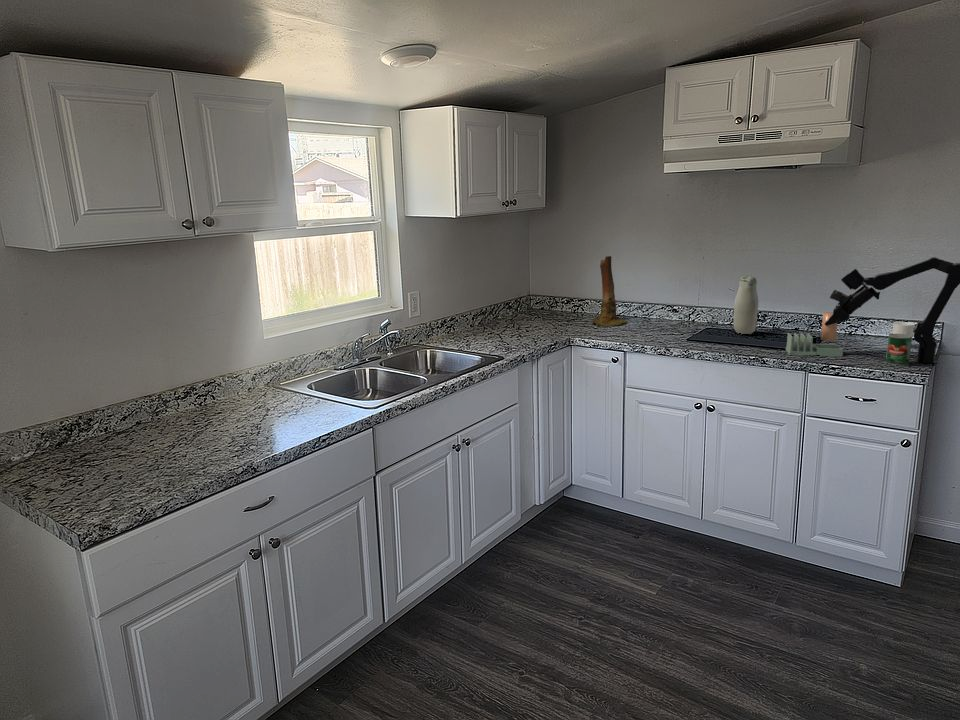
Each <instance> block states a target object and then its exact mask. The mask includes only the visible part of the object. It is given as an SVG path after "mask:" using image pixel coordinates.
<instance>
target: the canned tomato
mask: <svg viewBox="0 0 960 720" xmlns="http://www.w3.org/2000/svg"><path fill="white" fill-rule="evenodd" d="M887 338H888V339H887V344H886V346H887V347H886V355H885V362H886V364H887V363H888V364H887V365H890V364H891V366H896V365H900V366H899V367H905V366H904V365H907V366H909V365H910V359H911V357H910V356H911V348H912V341H913V338H912V336H910V335H906V334H893V333H890V334H888V337H887ZM901 365H902V366H901Z"/></svg>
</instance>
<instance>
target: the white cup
mask: <svg viewBox="0 0 960 720" xmlns="http://www.w3.org/2000/svg"><path fill="white" fill-rule="evenodd" d="M915 327H916V324H915V323H913V322H909V321H908V322H906V321H895V322H893V323H892V334H906V335H910V336H912V339H914V332H913V329H914V328H915Z"/></svg>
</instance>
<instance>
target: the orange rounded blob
mask: <svg viewBox="0 0 960 720" xmlns="http://www.w3.org/2000/svg"><path fill="white" fill-rule="evenodd" d="M832 315H833V312H832V311H829V312H828V311H826V312H823V313H822V323H821V334H820V335H821V336H820V340H821V341H823V342H824V341H825V342H836V341H837V330H838V323H834V324H831V325H828V326H826V325H825V323H826V322H827V320H828V319H829V318H830V317H831V316H832Z"/></svg>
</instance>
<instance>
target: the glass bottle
mask: <svg viewBox="0 0 960 720" xmlns="http://www.w3.org/2000/svg"><path fill="white" fill-rule="evenodd" d="M757 281H758V280H757V278H756V277H755V276H753V275H750V274H749V275H743V276H741V278H740V280H739V282H738V283H739V286H738V288H737V290H738V291H737V293H736V295H735V298H734V306H733V307H734V308H733V321H732V322H733V329H734V331H735V332H736V333H737V334H739V333H741V334H740V335H742V334H749V335H752V334H753V333H754V332H755V331H756V328H757V323H758V312H759V311H758V310H759V295H758V292H757V291H758V289H757Z"/></svg>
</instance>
